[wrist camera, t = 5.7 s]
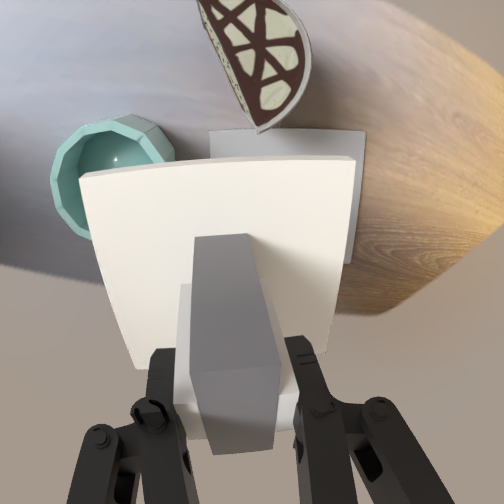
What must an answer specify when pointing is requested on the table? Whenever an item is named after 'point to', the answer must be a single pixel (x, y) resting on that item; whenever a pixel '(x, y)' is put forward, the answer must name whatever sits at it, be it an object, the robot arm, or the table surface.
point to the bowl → (102, 159)
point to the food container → (260, 55)
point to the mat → (297, 153)
